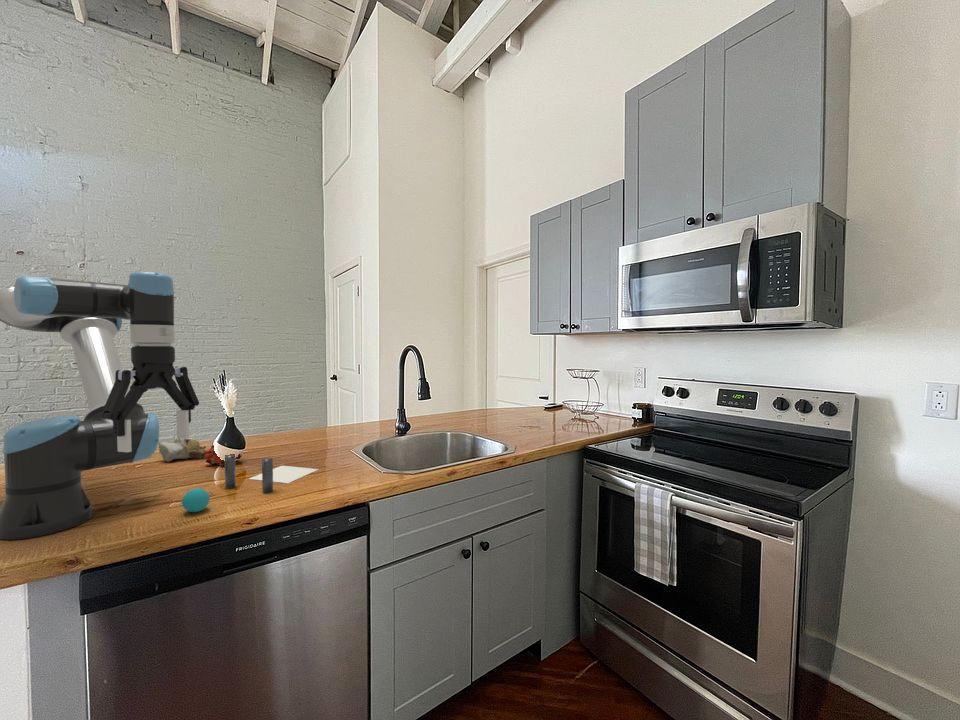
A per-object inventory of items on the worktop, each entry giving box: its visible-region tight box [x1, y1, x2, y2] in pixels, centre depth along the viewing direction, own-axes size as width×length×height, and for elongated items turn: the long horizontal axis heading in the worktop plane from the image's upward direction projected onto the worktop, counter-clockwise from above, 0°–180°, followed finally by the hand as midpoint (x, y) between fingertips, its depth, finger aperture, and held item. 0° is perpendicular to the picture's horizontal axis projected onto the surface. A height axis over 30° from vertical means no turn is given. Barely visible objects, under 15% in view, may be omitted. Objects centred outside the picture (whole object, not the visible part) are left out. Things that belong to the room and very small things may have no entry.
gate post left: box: [224, 454, 237, 490], centre depth 119 cm, size 3×3×9 cm
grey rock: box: [158, 437, 207, 463], centre depth 148 cm, size 11×9×15 cm
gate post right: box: [261, 457, 274, 494], centre depth 115 cm, size 3×3×9 cm
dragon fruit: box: [200, 444, 242, 467], centre depth 141 cm, size 8×8×12 cm
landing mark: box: [248, 465, 319, 485], centre depth 131 cm, size 14×14×1 cm
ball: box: [181, 487, 211, 513], centre depth 102 cm, size 6×6×6 cm
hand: (155, 444), depth 92 cm, fingers open, 12 cm apart
